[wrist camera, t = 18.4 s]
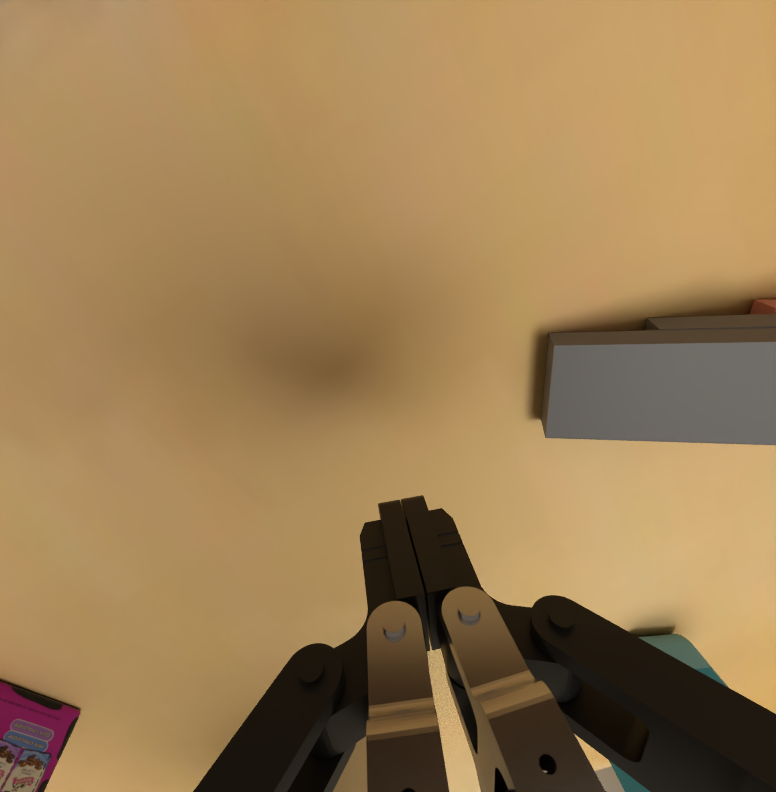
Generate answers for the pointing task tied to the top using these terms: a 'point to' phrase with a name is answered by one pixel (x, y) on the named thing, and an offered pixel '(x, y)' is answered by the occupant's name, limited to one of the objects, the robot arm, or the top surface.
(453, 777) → the top surface
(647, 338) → the domino
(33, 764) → the candy bar box
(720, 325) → the domino
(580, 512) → the top surface
